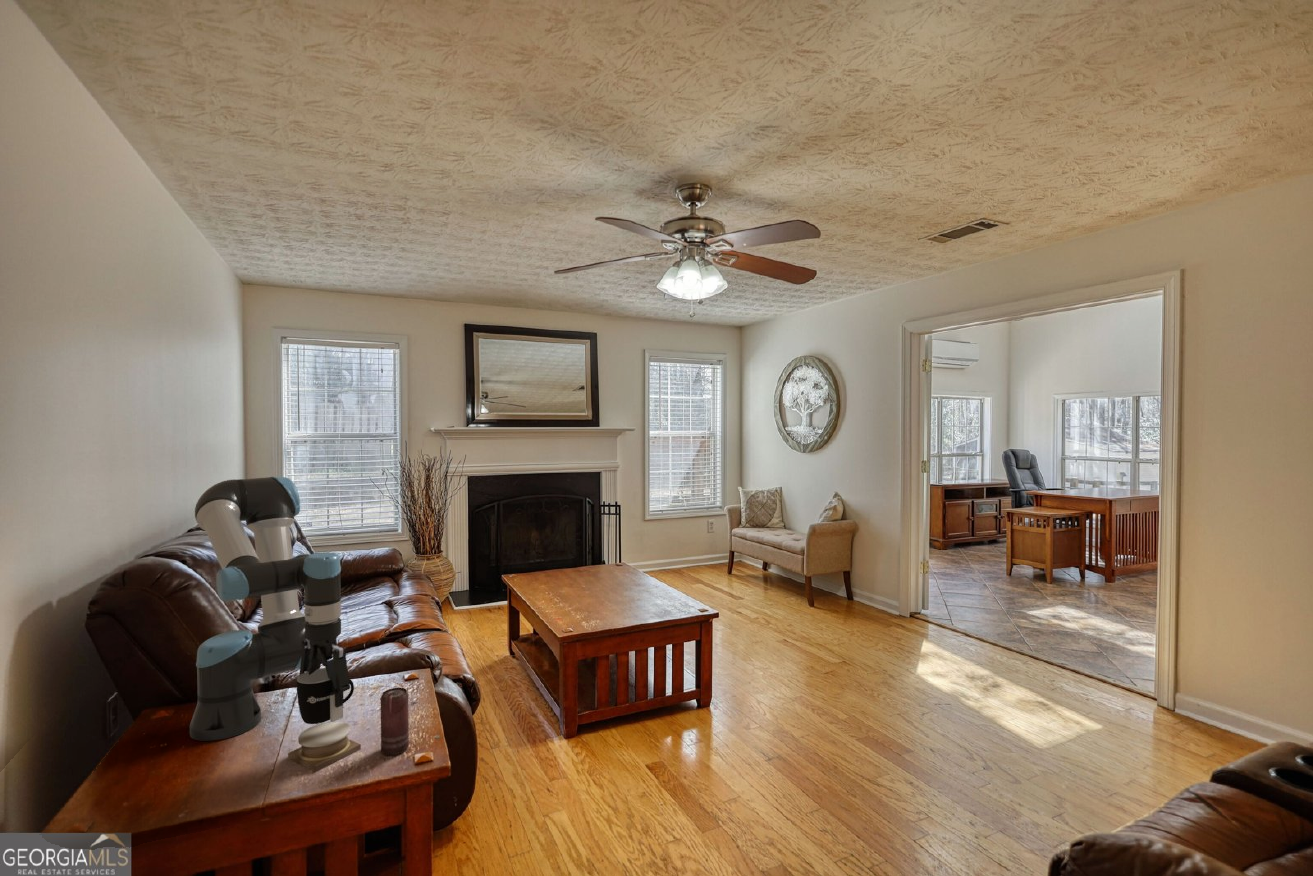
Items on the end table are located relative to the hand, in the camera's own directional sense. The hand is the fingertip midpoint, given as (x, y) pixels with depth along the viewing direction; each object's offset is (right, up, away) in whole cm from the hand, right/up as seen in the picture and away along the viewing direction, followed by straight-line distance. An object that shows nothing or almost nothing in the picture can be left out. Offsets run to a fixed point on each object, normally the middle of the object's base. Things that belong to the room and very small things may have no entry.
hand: (324, 714), depth 147 cm
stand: (0, -9, 0) cm, 9 cm away
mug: (+1, 0, 0) cm, 1 cm away
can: (+16, -10, +2) cm, 19 cm away
